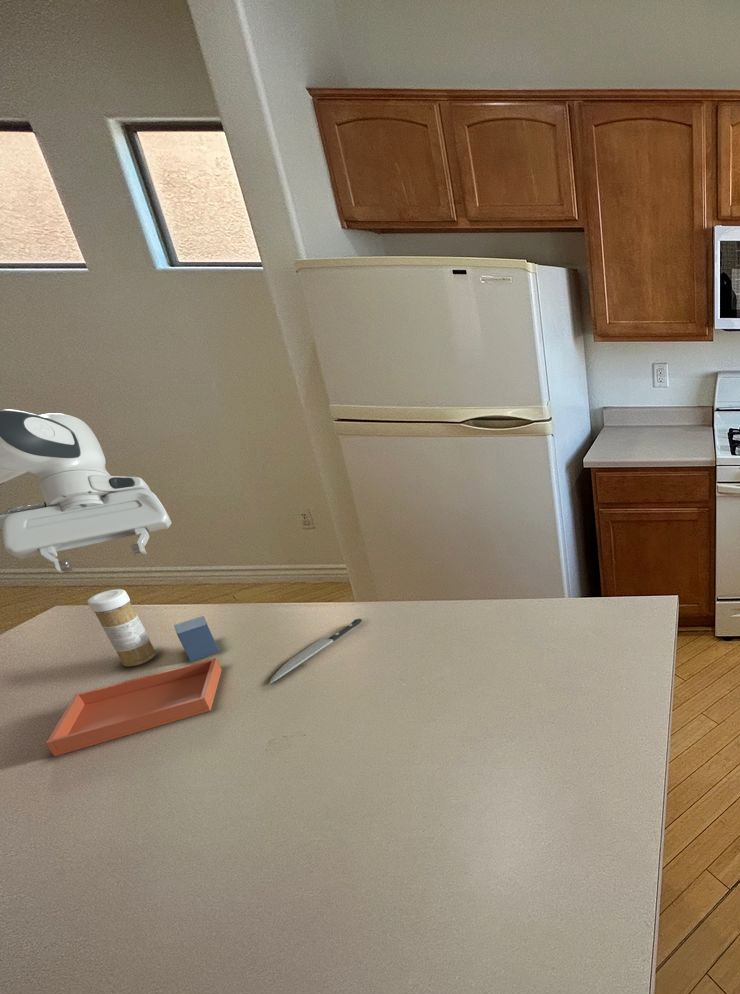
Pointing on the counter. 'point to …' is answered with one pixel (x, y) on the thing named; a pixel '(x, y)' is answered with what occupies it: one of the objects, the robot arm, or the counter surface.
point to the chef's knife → (311, 651)
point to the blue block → (196, 638)
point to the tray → (135, 706)
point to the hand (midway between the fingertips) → (103, 562)
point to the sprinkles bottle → (122, 627)
